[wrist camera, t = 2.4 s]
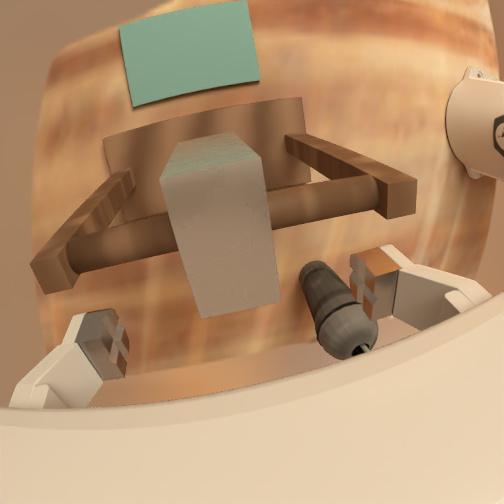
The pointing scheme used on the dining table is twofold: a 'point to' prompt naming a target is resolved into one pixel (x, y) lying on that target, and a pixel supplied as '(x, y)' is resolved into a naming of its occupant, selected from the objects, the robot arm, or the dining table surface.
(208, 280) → the tall rectangular pillar
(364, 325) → the beverage cup
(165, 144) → the stand
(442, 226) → the dining table surface
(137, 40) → the mat
